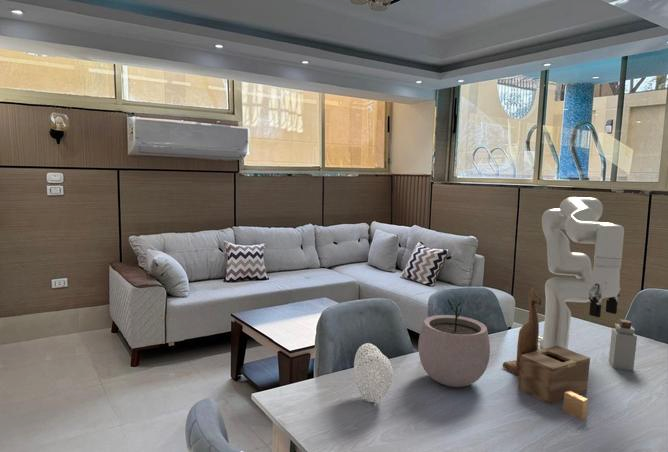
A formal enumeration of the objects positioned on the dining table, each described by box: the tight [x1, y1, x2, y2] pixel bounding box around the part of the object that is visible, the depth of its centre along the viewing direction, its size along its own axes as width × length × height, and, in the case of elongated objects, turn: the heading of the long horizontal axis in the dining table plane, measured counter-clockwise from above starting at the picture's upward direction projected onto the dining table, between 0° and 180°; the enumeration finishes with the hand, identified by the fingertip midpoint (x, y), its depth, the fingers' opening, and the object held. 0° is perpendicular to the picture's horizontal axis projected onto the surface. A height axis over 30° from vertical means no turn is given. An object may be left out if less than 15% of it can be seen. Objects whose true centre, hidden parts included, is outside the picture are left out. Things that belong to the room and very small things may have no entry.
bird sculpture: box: [502, 287, 542, 377], centre depth 164 cm, size 11×12×32 cm
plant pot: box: [417, 299, 491, 388], centre depth 155 cm, size 24×24×30 cm
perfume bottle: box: [608, 318, 638, 371], centre depth 174 cm, size 7×7×18 cm
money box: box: [517, 346, 591, 406], centre depth 152 cm, size 12×20×12 cm, turn 120°
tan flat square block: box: [562, 391, 589, 421], centre depth 137 cm, size 6×2×6 cm, turn 30°
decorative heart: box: [353, 342, 394, 410], centre depth 140 cm, size 18×11×17 cm, turn 16°
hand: (603, 314), depth 146 cm, fingers open, 9 cm apart
